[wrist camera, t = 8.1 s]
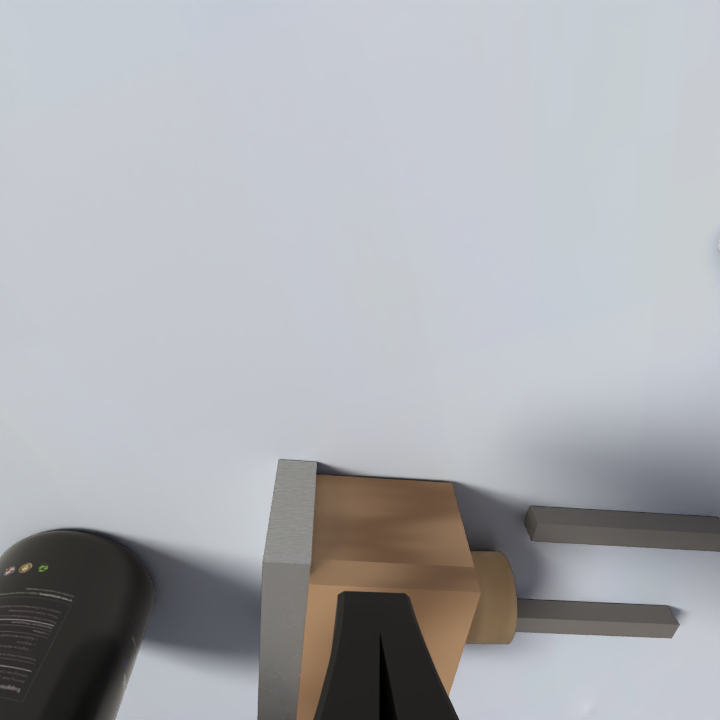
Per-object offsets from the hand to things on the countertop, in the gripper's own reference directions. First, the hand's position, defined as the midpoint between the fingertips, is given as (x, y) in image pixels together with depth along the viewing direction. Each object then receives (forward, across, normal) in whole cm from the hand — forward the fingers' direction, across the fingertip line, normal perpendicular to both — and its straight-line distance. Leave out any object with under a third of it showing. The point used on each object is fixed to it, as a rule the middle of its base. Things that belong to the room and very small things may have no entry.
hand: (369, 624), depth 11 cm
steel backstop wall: (+10, +2, +9) cm, 14 cm away
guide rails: (+10, -12, +9) cm, 18 cm away
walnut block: (+10, -2, +9) cm, 13 cm away
